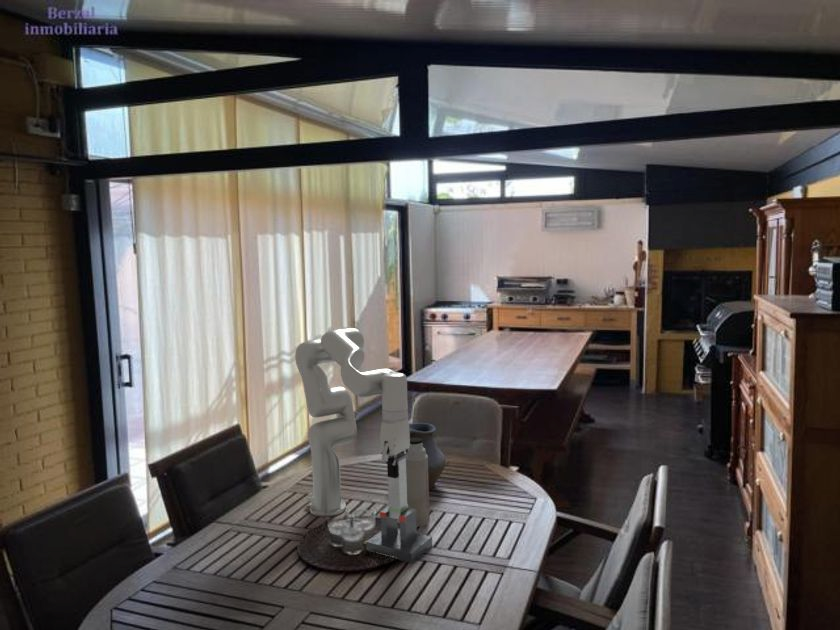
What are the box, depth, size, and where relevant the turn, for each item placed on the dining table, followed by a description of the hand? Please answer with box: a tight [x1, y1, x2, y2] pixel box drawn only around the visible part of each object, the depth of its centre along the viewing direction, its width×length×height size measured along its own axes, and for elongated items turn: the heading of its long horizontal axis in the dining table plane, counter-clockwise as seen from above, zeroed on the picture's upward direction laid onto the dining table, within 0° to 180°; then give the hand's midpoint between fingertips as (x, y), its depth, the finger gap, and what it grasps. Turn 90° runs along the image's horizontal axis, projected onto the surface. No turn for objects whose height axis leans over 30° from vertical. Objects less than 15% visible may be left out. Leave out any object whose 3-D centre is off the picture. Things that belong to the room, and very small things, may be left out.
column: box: [387, 453, 408, 520], centre depth 188 cm, size 5×5×19 cm
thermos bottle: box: [406, 438, 431, 528], centre depth 207 cm, size 8×8×28 cm
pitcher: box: [409, 422, 447, 490], centre depth 237 cm, size 21×22×25 cm
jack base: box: [365, 505, 433, 564], centre depth 189 cm, size 16×12×12 cm
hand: (397, 474), depth 188 cm, fingers closed on column, 4 cm apart
